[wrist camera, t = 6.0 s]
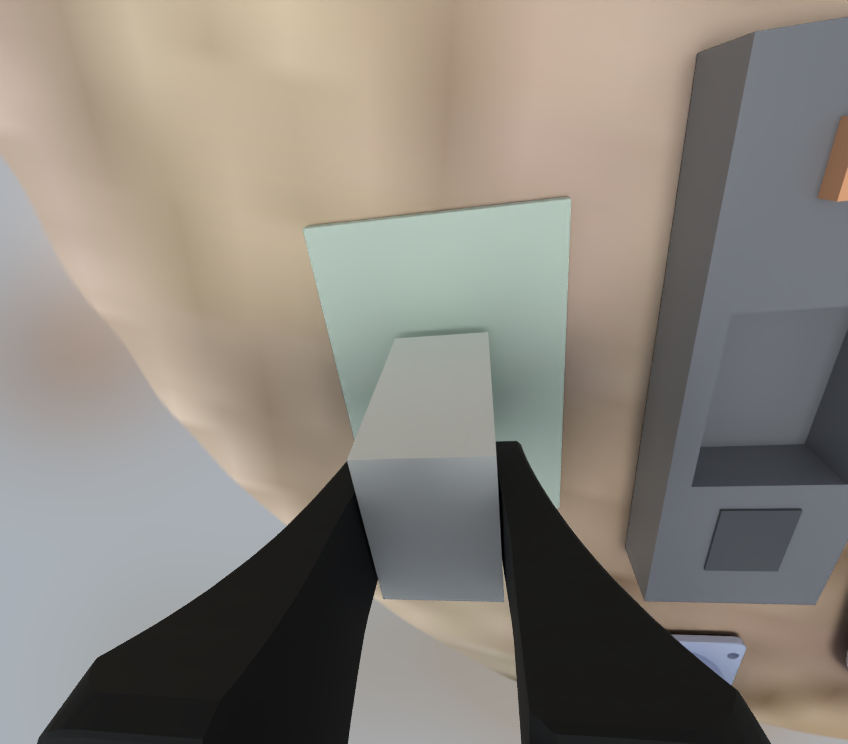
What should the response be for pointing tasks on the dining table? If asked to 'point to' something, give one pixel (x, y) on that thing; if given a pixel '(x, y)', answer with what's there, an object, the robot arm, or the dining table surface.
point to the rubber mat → (457, 306)
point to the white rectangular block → (432, 472)
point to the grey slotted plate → (752, 334)
